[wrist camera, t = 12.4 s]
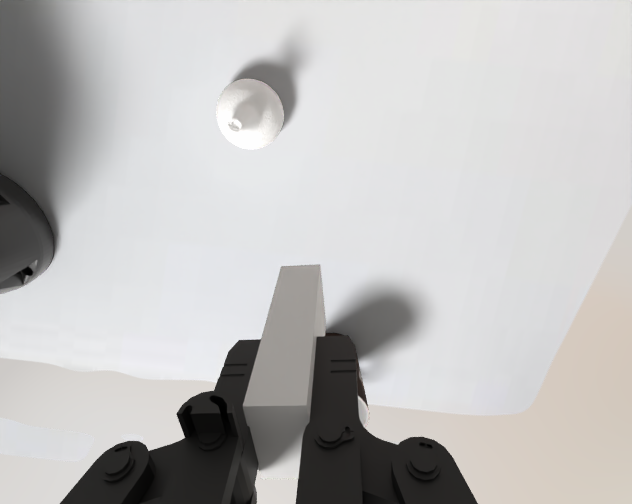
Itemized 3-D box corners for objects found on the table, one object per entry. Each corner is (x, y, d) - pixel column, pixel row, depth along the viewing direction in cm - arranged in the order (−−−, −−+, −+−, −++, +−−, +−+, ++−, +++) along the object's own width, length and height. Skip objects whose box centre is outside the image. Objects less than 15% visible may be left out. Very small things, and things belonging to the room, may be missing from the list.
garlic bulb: (251, 155, 40) (238, 184, 33) (206, 106, 37) (182, 126, 31) (297, 116, 38) (293, 138, 31) (253, 61, 35) (238, 71, 28)
